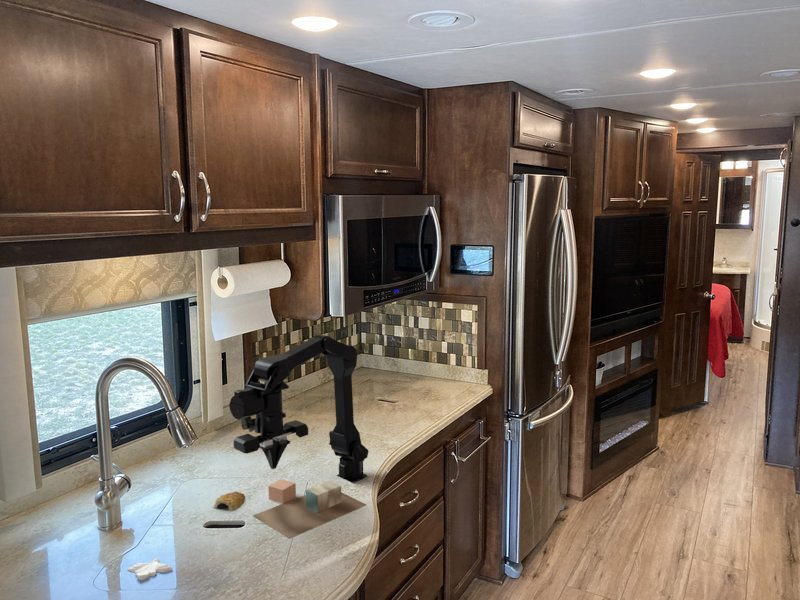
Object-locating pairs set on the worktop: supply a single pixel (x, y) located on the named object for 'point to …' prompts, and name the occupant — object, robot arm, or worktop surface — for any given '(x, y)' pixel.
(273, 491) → the terracotta cube
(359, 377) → the worktop surface
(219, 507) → the pastry
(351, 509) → the walnut board
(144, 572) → the acanthus leaf ornament
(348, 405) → the robot arm
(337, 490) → the maple block
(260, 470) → the worktop surface
